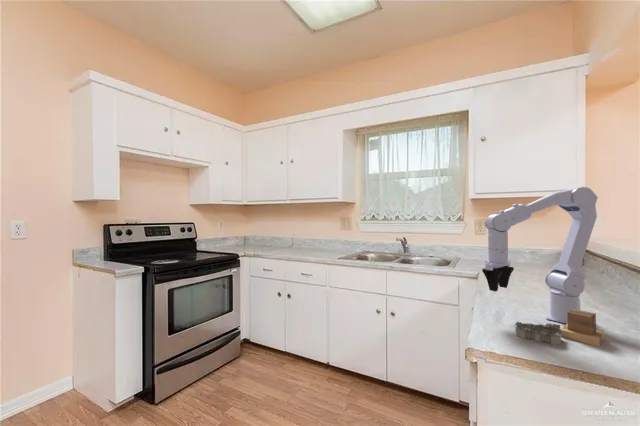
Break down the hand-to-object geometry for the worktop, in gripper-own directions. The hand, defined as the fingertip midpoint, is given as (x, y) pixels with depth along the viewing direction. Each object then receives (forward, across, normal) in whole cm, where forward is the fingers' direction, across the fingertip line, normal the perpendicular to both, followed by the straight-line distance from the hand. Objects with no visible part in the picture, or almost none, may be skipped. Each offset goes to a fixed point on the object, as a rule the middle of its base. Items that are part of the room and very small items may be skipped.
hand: (498, 289), depth 98 cm
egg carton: (+10, +8, +13) cm, 19 cm away
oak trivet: (+10, -2, +21) cm, 24 cm away
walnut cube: (+8, -2, +21) cm, 23 cm away
